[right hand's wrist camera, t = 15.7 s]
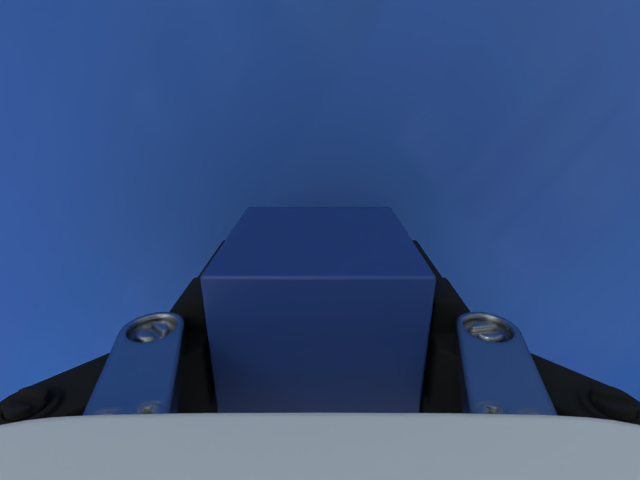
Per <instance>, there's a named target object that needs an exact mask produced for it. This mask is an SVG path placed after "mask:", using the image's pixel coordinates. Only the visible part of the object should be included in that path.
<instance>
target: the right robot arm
mask: <svg viewBox="0 0 640 480" xmlns="http://www.w3.org/2000/svg"><path fill="white" fill-rule="evenodd" d="M412 241H413V243H414V244H415V246H416V247H417V249H418V250H419V252H420V253H421V255H422V256H423V258H424V259H425V261H426V263H427V264H428V266H429V267H430V269H431V270H432V272H433V273H434V275H435V277H436V283H435V291H434V299H433V307H432V315H431V323H430V331H429V339H428V347H427V355H426V363H425V371H424V379H423V387H422V395H421V403H420V411H419V413H218V411H217V403H216V396H215V388H214V380H213V372H212V365H211V357H210V349H209V341H208V334H207V326H206V318H205V310H204V303H203V295H202V287H201V280H200V278H201V275H202V274H203V272H204V271H205V269H206V268H207V266H208V265H209V264H210V262H211V261H212V259H213V258H214V256H215V255H216V253H217V252H218V250H219V249H220V248H221V246H222V245H223V243H224V242H225V240H224V241H223V242H222V243H221V245H220V246H219V248H218V249H217V250H216V252H215V253H214V255H213V256H212V258H211V259H210V261H209V262H208V263H207V265H206V266H205V268H204V269H203V271H202V272H201V274H200V275H199V276H198V278H194V279H193V280H192V281H191V283H190V284H189V285H188V287H187V288H186V290H185V291H184V292H183V294H182V295H181V296H180V298H179V299H178V301H177V302H176V303H175V305H174V306H173V308H172V309H171V310H170V312H156V313H151V314H146V315H143V316H141V317H138V318H136V319H134V320H132V321H130V322H129V323H127V324H126V325H125V326H124V327H123V328H122V329H121V330H120V332H119V334H118V336H117V338H116V341H115V343H114V345H113V347H112V350H111V352H110V353H108V354H106V355H104V356H101V357H99V358H96V359H94V360H92V361H89V362H87V363H85V364H82V365H80V366H77V367H75V368H73V369H70V370H68V371H65V372H63V373H61V374H58V375H56V376H53V377H51V378H49V379H46V380H44V381H41V382H39V383H37V384H34V385H32V386H29V387H26V388H23V389H20V390H18V392H16V393H14V394H12V395H10V396H8V397H7V398H6V399H4V400H3V401H1V402H0V480H640V402H639V401H637V400H636V399H634V398H633V397H631V396H630V395H628V394H627V393H625V392H623V391H621V390H619V389H617V388H614V387H611V386H608V385H606V384H603V383H601V382H598V381H596V380H594V379H591V378H589V377H586V376H584V375H582V374H579V373H577V372H574V371H572V370H570V369H567V368H565V367H563V366H560V365H558V364H555V363H553V362H551V361H548V360H546V359H543V358H541V357H539V356H536V355H534V354H531V353H530V352H529V350H528V347H527V345H526V343H525V341H524V338H523V336H522V334H521V332H520V330H519V329H518V328H517V327H516V326H515V325H514V324H513V323H511V322H510V321H508V320H506V319H504V318H502V317H499V316H497V315H494V314H489V313H484V312H470V311H469V309H468V308H467V306H466V305H465V304H464V302H463V301H462V300H461V298H460V297H459V295H458V294H457V293H456V291H455V290H454V288H453V287H452V286H451V284H450V283H449V281H448V280H447V279H446V278H442V277H441V275H440V274H439V272H438V271H437V269H436V268H435V267H434V265H433V264H432V262H431V261H430V259H429V258H428V256H427V255H426V254H425V252H424V251H423V249H422V248H421V246H420V245H419V244H418V242H417V241H416V240H412Z"/></svg>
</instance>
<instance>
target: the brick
mask: <svg viewBox="0 0 640 480" xmlns="http://www.w3.org/2000/svg"><path fill="white" fill-rule="evenodd" d="M200 280H201V287H202V295H203V303H204V310H205V318H206V326H207V334H208V341H209V349H210V357H211V365H212V372H213V380H214V388H215V396H216V403H217V411H218V413H419V411H420V403H421V395H422V387H423V379H424V371H425V363H426V355H427V347H428V339H429V331H430V323H431V315H432V307H433V299H434V291H435V283H436V277H435V275H434V273H433V272H432V270H431V269H430V267H429V266H428V264H427V263H426V261H425V259H424V258H423V256H422V255H421V253H420V252H419V250H418V249H417V247H416V246H415V244H414V243H413V241H412V240H411V238H410V237H409V235H408V234H407V232H406V231H405V229H404V228H403V226H402V225H401V223H400V222H399V220H398V218H397V217H396V215H395V214H394V212H393V211H392V209H391V208H389V207H249V208H247V210H246V211H245V213H244V214H243V215H242V217H241V218H240V220H239V221H238V223H237V224H236V226H235V227H234V229H233V230H232V231H231V233H230V234H229V236H228V237H227V239H226V240H225V242H224V243H223V245H222V246H221V248H220V249H219V250H218V252H217V253H216V255H215V256H214V258H213V259H212V261H211V262H210V264H209V265H208V266H207V268H206V269H205V271H204V272H203V274H202V275H201V278H200Z"/></svg>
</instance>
